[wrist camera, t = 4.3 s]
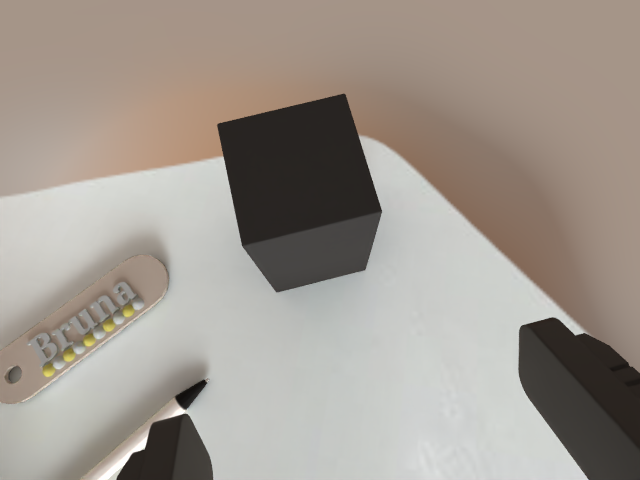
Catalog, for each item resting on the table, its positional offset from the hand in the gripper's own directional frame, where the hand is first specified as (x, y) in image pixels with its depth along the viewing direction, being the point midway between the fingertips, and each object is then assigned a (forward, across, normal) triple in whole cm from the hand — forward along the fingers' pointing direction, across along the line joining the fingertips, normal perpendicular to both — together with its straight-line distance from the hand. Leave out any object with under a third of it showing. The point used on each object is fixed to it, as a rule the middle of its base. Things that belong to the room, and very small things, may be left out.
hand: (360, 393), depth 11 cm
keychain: (+13, +13, +4) cm, 19 cm away
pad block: (+14, 0, +3) cm, 15 cm away
